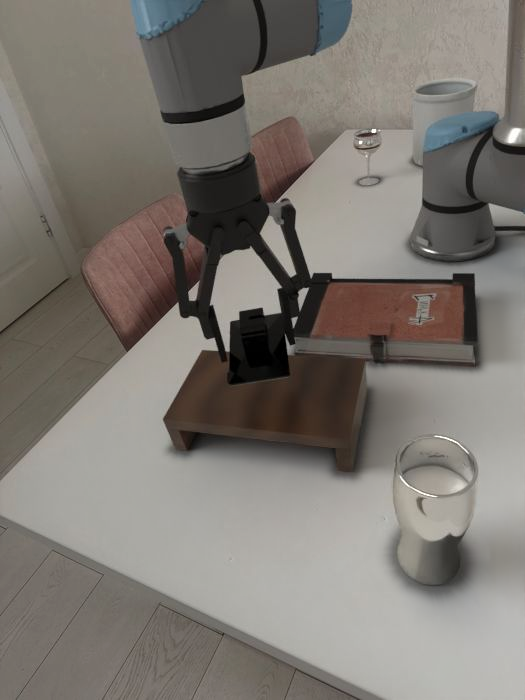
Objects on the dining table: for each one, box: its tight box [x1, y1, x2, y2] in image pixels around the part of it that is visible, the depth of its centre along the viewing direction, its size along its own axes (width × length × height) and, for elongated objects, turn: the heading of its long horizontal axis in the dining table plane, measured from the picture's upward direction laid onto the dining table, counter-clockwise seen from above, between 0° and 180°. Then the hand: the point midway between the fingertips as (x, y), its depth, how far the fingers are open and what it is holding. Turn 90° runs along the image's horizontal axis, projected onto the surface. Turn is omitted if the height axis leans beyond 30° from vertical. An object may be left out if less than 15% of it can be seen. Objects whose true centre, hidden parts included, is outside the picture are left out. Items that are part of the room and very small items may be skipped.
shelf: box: [162, 349, 368, 473], centre depth 67 cm, size 24×14×6 cm, turn 74°
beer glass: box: [392, 433, 479, 586], centre depth 46 cm, size 7×7×15 cm
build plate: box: [227, 307, 290, 386], centre depth 60 cm, size 12×7×5 cm, turn 2°
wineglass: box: [353, 127, 383, 186], centre depth 124 cm, size 7×7×12 cm
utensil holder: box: [411, 77, 478, 167], centre depth 126 cm, size 15×15×18 cm
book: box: [293, 272, 479, 367], centre depth 79 cm, size 26×18×5 cm
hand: (256, 346), depth 61 cm, fingers closed on build plate, 8 cm apart
